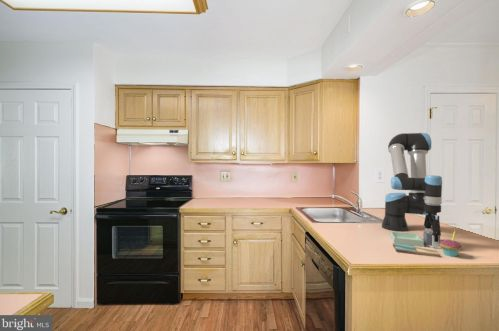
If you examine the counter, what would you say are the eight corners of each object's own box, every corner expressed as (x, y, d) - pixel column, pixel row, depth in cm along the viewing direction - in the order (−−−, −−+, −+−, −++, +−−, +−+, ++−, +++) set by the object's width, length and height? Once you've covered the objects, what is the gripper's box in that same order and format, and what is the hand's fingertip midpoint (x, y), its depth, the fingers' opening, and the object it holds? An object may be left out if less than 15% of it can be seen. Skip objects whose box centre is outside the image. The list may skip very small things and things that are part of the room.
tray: (390, 236, 152) (390, 231, 152) (416, 239, 147) (417, 233, 147) (394, 243, 139) (394, 237, 139) (423, 246, 134) (423, 240, 134)
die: (423, 241, 142) (423, 231, 142) (436, 243, 140) (436, 232, 140) (426, 245, 137) (426, 233, 137) (439, 246, 135) (440, 235, 135)
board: (392, 245, 136) (392, 242, 136) (432, 249, 130) (432, 247, 130) (396, 252, 126) (396, 249, 126) (440, 257, 120) (440, 254, 120)
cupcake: (451, 251, 127) (452, 227, 127) (466, 258, 119) (467, 232, 118) (434, 251, 127) (435, 227, 127) (448, 258, 118) (449, 232, 118)
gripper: (418, 200, 151) (417, 236, 151) (431, 207, 128) (430, 250, 128) (433, 201, 148) (432, 238, 149) (449, 208, 125) (448, 252, 126)
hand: (431, 243), depth 139 cm, fingers open, 12 cm apart
